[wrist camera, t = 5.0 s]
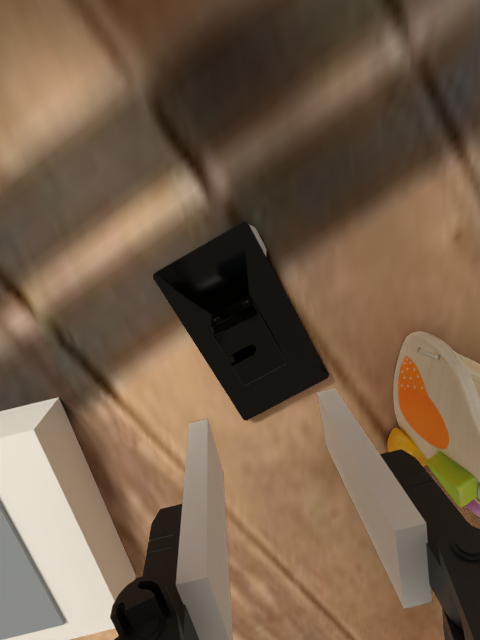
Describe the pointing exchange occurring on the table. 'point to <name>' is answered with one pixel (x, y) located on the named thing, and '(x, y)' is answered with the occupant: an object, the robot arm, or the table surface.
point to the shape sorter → (439, 414)
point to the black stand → (242, 320)
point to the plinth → (53, 532)
